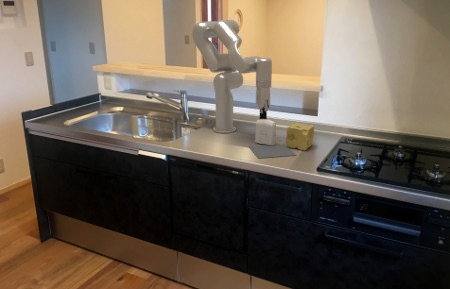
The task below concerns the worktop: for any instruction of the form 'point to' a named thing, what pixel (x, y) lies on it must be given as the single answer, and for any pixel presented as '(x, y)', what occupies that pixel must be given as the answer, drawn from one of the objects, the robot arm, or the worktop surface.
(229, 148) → the worktop surface
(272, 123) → the photo printer
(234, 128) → the robot arm
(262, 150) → the mat
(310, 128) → the cheese
